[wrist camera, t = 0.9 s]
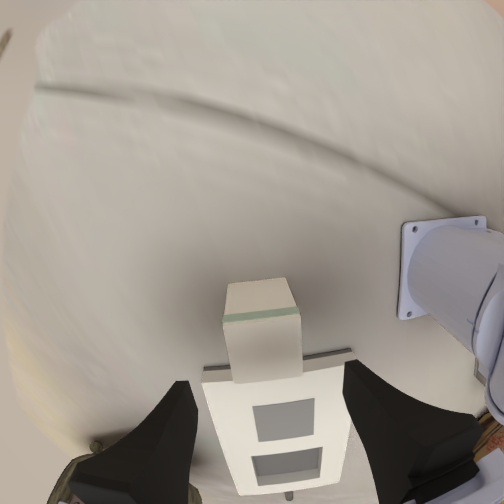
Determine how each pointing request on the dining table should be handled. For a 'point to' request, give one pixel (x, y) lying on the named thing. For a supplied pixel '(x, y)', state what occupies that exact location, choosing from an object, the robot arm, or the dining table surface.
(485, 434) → the ceramic jug
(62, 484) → the tabletop clock
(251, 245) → the dining table surface
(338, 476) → the power strip
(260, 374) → the block
